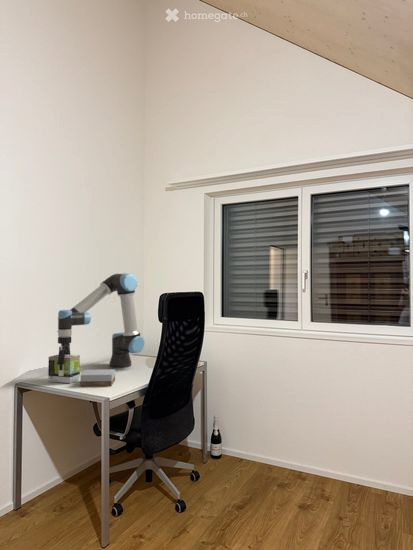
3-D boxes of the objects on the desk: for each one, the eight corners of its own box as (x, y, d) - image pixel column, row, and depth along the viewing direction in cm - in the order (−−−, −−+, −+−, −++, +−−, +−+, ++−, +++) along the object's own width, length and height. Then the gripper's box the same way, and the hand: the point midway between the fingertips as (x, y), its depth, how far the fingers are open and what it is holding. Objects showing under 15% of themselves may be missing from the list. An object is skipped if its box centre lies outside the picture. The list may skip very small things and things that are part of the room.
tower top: (85, 375, 234) (85, 369, 234) (115, 375, 236) (115, 369, 236) (80, 381, 220) (80, 375, 220) (111, 380, 222) (111, 374, 222)
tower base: (85, 381, 234) (85, 375, 234) (115, 381, 236) (115, 375, 236) (80, 387, 220) (80, 381, 221) (111, 387, 222) (111, 381, 222)
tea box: (80, 379, 236) (80, 354, 236) (69, 383, 226) (70, 357, 227) (58, 377, 240) (59, 353, 241) (47, 381, 231) (47, 356, 231)
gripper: (63, 333, 246) (63, 368, 245) (51, 339, 222) (51, 378, 221) (76, 333, 246) (75, 368, 246) (65, 339, 222) (65, 378, 222)
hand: (64, 373), depth 233 cm, fingers closed on tea box, 12 cm apart
